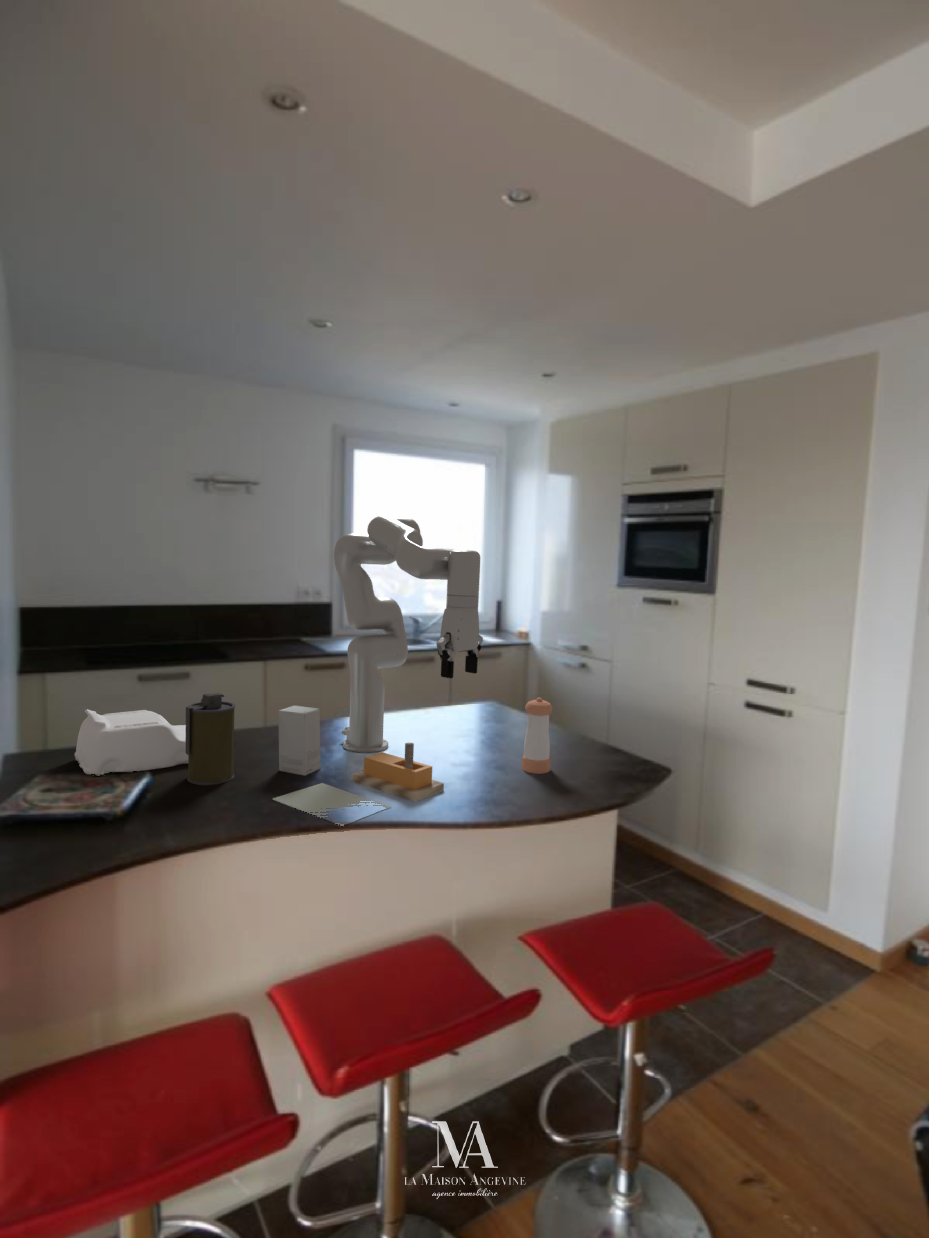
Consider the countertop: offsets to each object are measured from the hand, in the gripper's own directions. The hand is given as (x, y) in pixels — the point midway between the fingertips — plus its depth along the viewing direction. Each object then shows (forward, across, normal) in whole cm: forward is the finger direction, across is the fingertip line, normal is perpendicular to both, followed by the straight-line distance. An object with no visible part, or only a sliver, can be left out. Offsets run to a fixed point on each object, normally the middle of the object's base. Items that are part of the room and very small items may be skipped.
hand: (459, 675), depth 158 cm
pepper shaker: (+27, -23, +10) cm, 36 cm away
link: (+24, +11, -9) cm, 28 cm away
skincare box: (+27, +18, -35) cm, 47 cm away
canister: (+27, +36, -45) cm, 64 cm away
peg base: (+26, +11, -5) cm, 29 cm away
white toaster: (+27, +38, -69) cm, 83 cm away
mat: (+26, +29, -12) cm, 41 cm away
